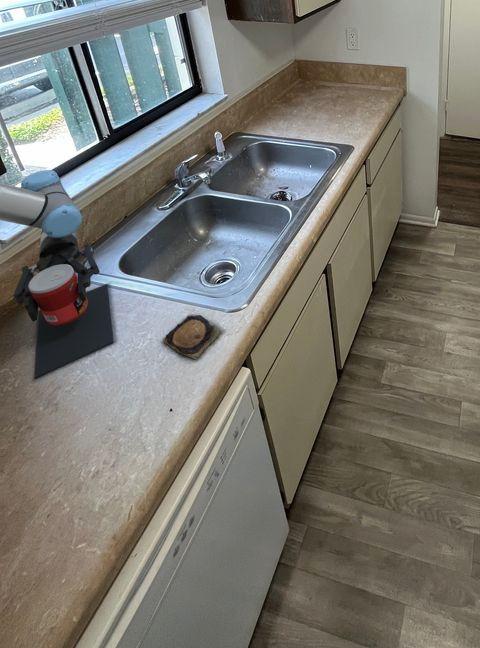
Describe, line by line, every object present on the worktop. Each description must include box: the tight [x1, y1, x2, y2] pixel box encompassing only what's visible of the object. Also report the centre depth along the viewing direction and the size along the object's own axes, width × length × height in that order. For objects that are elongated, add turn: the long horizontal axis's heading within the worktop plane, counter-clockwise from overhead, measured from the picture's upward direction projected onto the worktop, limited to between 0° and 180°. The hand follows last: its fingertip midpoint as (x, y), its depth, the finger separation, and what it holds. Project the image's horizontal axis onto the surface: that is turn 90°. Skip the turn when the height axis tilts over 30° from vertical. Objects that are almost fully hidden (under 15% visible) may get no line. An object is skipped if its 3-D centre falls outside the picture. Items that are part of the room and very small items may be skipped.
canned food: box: [28, 264, 88, 326], centre depth 97 cm, size 8×8×11 cm
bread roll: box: [163, 314, 222, 360], centre depth 98 cm, size 11×8×4 cm
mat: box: [34, 283, 115, 379], centre depth 102 cm, size 14×20×1 cm
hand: (58, 306), depth 93 cm, fingers closed on canned food, 8 cm apart
